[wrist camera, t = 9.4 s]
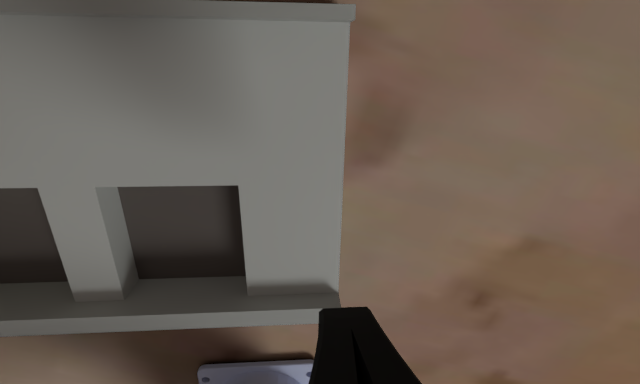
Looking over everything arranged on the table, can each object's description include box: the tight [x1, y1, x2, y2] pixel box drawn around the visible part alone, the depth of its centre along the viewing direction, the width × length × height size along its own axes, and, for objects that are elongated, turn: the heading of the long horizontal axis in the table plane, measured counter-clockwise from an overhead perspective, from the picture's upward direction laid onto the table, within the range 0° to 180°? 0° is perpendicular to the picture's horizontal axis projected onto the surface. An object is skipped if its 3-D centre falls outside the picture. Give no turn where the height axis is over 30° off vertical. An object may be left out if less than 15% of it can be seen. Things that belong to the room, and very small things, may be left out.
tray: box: [0, 0, 356, 337], centre depth 16 cm, size 15×22×3 cm
